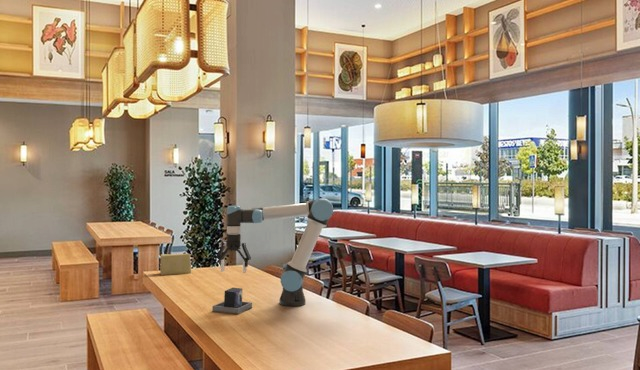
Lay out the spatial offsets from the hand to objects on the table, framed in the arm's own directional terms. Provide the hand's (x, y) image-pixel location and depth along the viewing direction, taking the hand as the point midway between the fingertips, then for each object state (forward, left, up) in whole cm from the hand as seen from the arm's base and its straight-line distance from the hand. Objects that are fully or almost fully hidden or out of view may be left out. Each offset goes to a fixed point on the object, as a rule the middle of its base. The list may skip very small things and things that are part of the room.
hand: (233, 272), depth 287 cm
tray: (-1, +3, -20) cm, 20 cm away
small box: (-2, +3, -20) cm, 20 cm away
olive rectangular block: (+94, -77, -20) cm, 123 cm away
